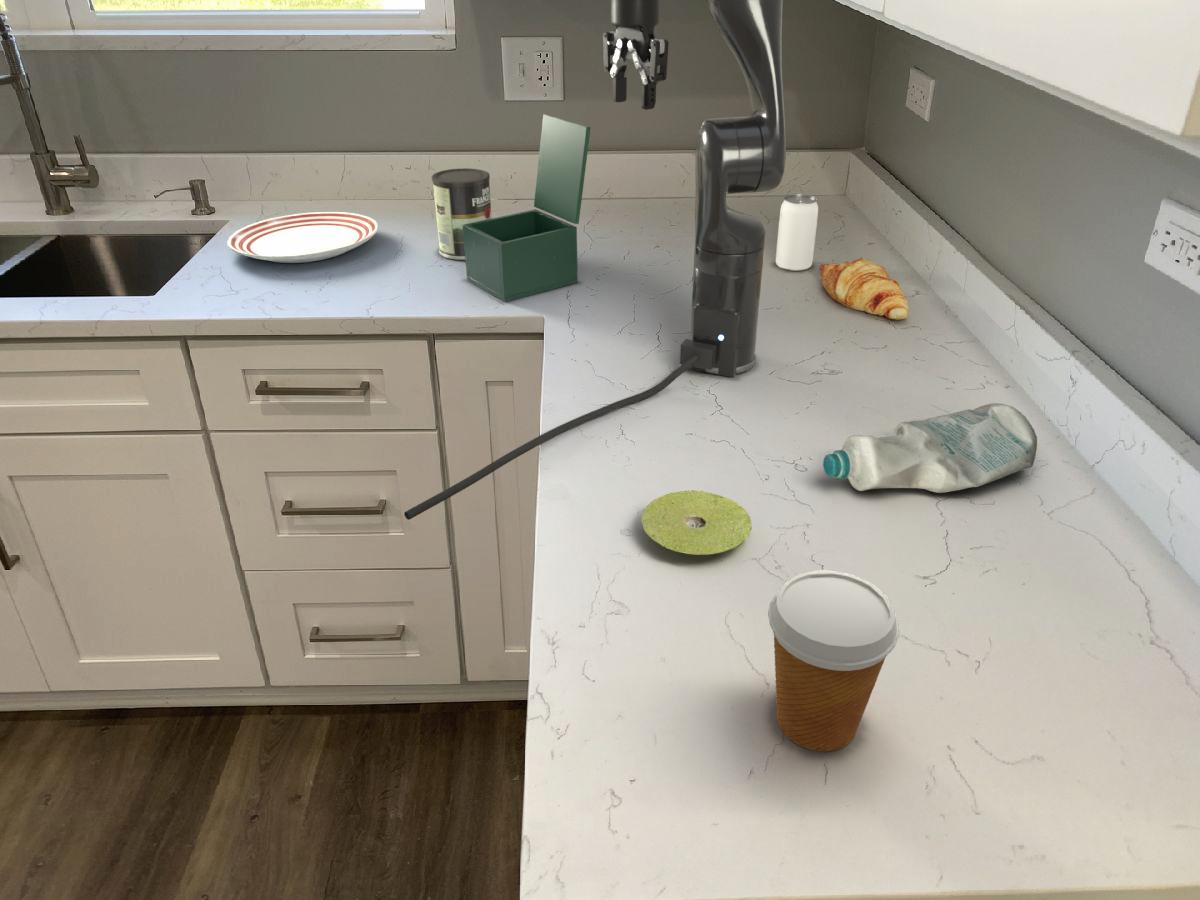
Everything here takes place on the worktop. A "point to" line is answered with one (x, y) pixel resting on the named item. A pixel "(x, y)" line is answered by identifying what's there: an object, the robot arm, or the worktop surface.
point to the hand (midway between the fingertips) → (633, 104)
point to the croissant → (865, 288)
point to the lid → (561, 167)
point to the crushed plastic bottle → (939, 452)
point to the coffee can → (459, 206)
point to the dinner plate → (303, 236)
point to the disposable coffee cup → (828, 654)
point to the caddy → (520, 254)
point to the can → (797, 232)
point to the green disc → (696, 522)
